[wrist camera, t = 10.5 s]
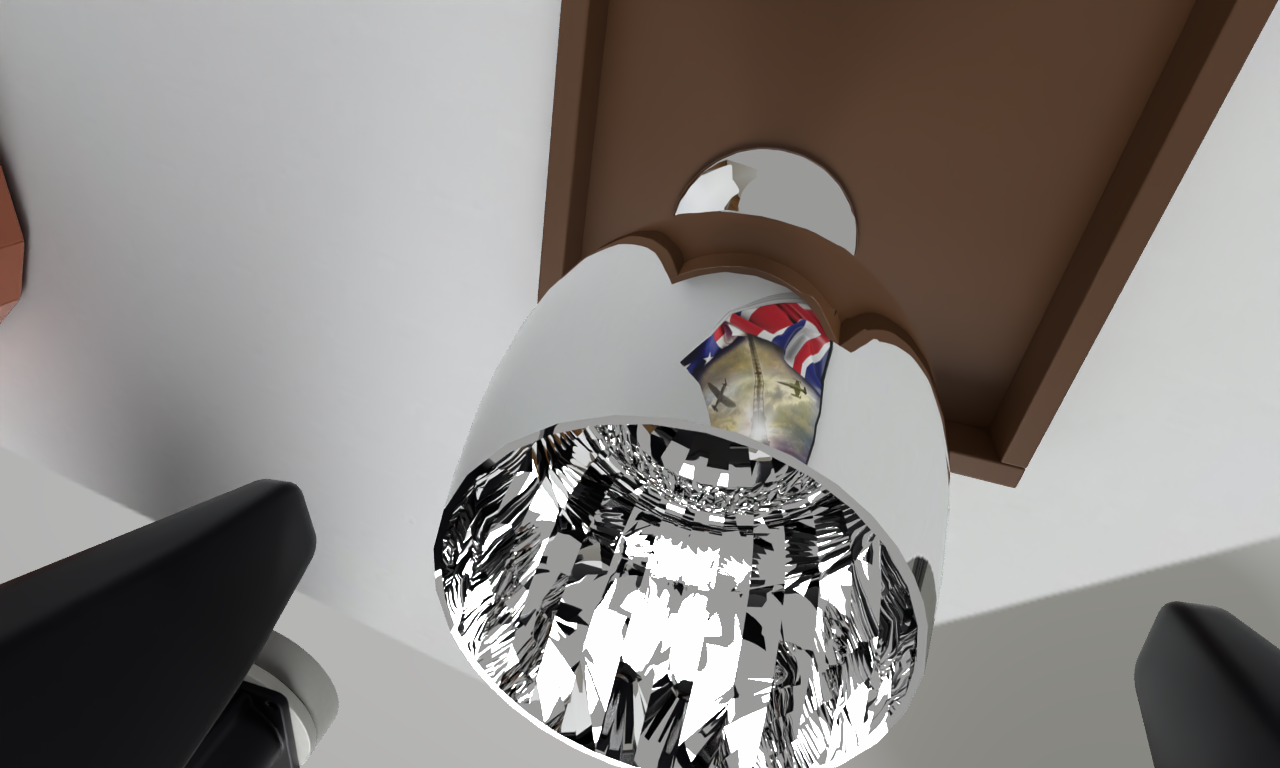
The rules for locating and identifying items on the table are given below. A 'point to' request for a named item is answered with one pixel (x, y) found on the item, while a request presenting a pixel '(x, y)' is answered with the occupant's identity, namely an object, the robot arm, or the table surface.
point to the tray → (916, 157)
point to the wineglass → (707, 489)
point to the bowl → (9, 252)
